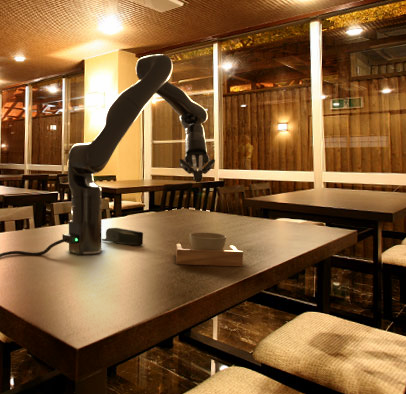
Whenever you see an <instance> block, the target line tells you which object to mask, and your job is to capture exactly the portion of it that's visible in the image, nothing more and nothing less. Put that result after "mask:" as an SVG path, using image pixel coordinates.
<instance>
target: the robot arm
mask: <svg viewBox="0 0 406 394" xmlns="http://www.w3.org/2000/svg"><path fill="white" fill-rule="evenodd" d="M172 73H173V61H172V59H171V57H169V55H167V54H159V53H158V54H151V55H146V56H143V57H140V58H139V59H138V60H137V62H136V65H135V74H136V77H137V78H138V81H137V82H136V83H134V84H132V85H131V86H129V87H127V88H126V89H124V90H123V91H122V92H120V93H119V94H118V95H117V96H116V97H115V99H114V100H113V101H112V102H111V104H110V105H109V107H108V109H107V110H106V112H105V118H104V125H103V127H102V129H101V131H100V132H99V134H97V136H96V137H95V138H94V139H93V140H92V141H91V142H84V143H81V142H80V143H76V144H74V145H73V146H72V147H70V149H69V151H68V155H67V179H68V181H67V182H68V187H69V189H70V196H71V197H70V199H71V204H70V205H71V208H70V211H71V213H70V214H71V216H70V217H71V220H69V221H68V233H62V239H59V240H57V241H54V242H52V243H51V244H49V245H48V246H47V247H46V248H45V249H44V250H42V251H37V252H33V251H32V252H30V251H25V250H23V251H22V250H10V251H5V252H1V253H0V258H1V257H5V256H11V255H22V256H42V255H43V256H44V255H45V254H47V253H48V252H49V251H50V250H51V249H52V248H54V247H56V246H58V245H59V244H63V243H66V244H68V252H70V253H73V254H76V255H78V256H83V255H96V254H100V253H102V251H103V248H102V195H103V194H102V187H101V186H100V185H99V184H98V183H96V181H95V180H94V174H95V175H96V174H98V173H100V172H102V171H103V170H104V169H105V167H106V166H107V164H108V163H109V162H110V160H111V158H112V156H113V153H114V152H115V151H116V149H117V147H118V145H119V144H120V143H121V141H122V140H123V138H124V136H125V135H126V133H127V132H128V131H129V130H130V128H131V127H132V126H133V125H134V123H135V121H136V120H137V119H138V117H139V116H140V115H141V113H142V111H143V110H144V109H145V107H146V106H147V105H148V104H149V103H150V101H151V100H152V98H154V96H155V94H157V95H158V96H159V97H161V99H163V100H164V101H165V102H166V103H167V104H168V105H169V106H170V108H172V110H174V112H175V113H176V114H177V115H179V123H180V124H181V126H182V128H183V131H184V137H185V139H184V151H185V156H184V159H182V158H180V159H179V164H178V166H179V167H180V168H181V169H183V170H184V172H185V173H187V174H189V175H191V174H192V176H193V181H194V182H195V183H201V182H202V181H203V174H204V175H206V174H208V173H209V171H211V169H213V168H214V167H215V163H216V159H214V158H212V159H211V158H210V157H209V155H208V151H207V142H206V137H205V129H204V126H203V125H202V124H204V123H205V122H207V120H208V113H207V110H206V109H205V108H204V107H203V106H202V105H200V104H199V103H197V102H195V101H193V100H192V99H191V98H190V97H189V95H188V94H187V93H186V92H185V91H184V90H183V89H182V88H180V87H178V86H177V85H175V84H173V83H171V82H169V81H168V80H169V79H170V78H171V75H172Z"/></svg>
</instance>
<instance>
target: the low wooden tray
mask: <svg viewBox="0 0 406 394" xmlns="http://www.w3.org/2000/svg"><path fill="white" fill-rule="evenodd" d="M175 256H176V264H177V265H190V266H191V265H192V266H193V265H195V266H216V267H217V266H218V267H219V266H221V267H243V266H244V265H243V263H244V251H243V250H238V249H237V247H236V246H235V245H229V250H227V249H223V250H201V249H192V248H182V245H181V243H176V245H175Z"/></svg>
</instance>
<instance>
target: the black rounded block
mask: <svg viewBox="0 0 406 394" xmlns="http://www.w3.org/2000/svg"><path fill="white" fill-rule="evenodd" d="M101 242H108V243H109V242H110V243H116V244H122V245H127V246H133V247H134V246H135V247H139V246H142V245H143V244H144V232H143V231H139V230H132V229H126V228H120V227H109V228H106V230H105V238H101Z"/></svg>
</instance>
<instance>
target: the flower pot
mask: <svg viewBox="0 0 406 394" xmlns="http://www.w3.org/2000/svg"><path fill="white" fill-rule="evenodd" d="M188 236H189V241H190V246H191V249H201V250H224V248H225V245H226V241H227V236H226V235H225V234H221V233H217V232H205V231H204V232H200V231H199V232H191V233H189V235H188Z"/></svg>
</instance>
